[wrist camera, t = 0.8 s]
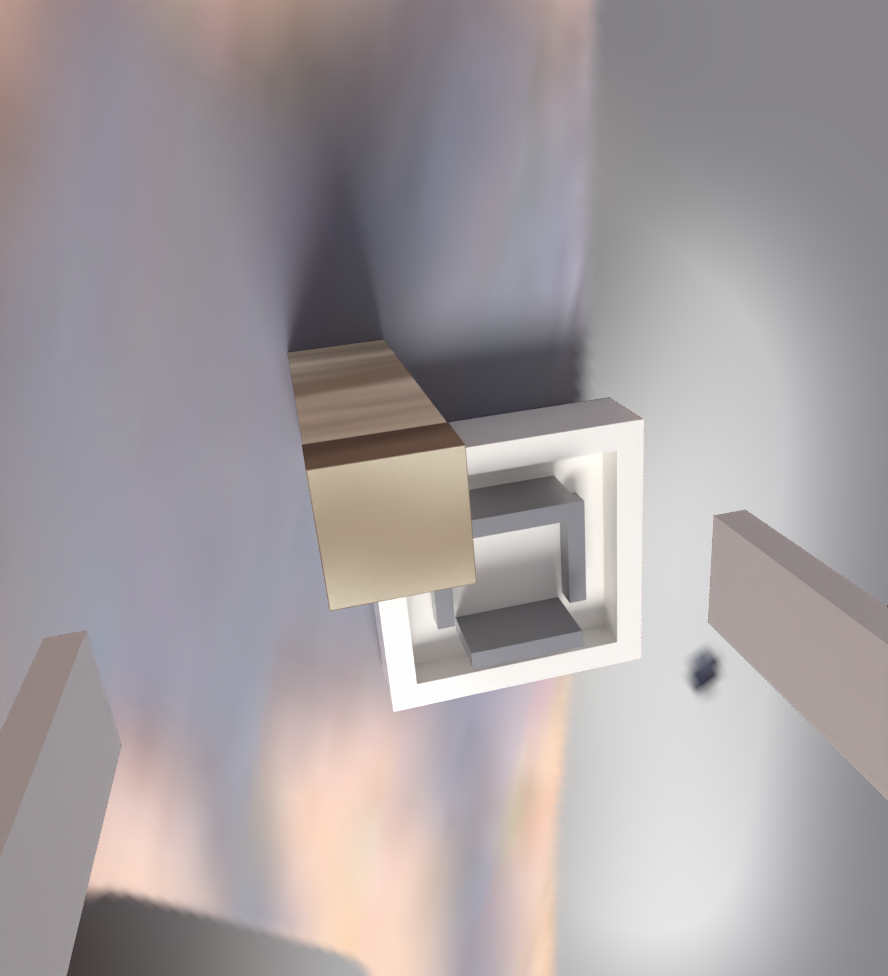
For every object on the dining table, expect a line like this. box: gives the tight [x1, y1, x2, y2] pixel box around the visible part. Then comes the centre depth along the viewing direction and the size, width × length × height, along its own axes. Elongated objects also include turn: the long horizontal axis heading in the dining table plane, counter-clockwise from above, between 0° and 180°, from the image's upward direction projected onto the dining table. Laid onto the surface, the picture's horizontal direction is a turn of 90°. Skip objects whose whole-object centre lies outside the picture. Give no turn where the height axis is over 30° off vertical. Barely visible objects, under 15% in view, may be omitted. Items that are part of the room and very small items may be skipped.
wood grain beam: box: [288, 340, 477, 611], centre depth 27 cm, size 4×4×14 cm
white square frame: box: [373, 397, 644, 711], centre depth 35 cm, size 12×12×5 cm
